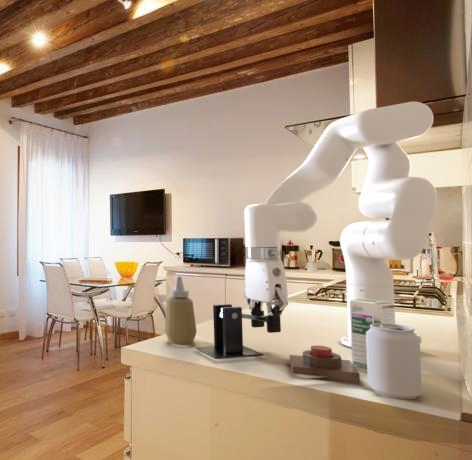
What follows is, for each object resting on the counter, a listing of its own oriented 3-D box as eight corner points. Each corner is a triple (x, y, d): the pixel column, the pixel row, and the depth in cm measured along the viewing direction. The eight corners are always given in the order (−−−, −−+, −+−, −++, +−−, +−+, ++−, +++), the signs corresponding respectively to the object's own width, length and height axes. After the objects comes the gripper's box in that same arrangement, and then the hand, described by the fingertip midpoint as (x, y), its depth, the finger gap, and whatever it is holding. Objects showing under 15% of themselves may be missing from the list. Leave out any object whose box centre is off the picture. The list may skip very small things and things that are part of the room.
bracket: (240, 349, 104) (238, 302, 104) (263, 359, 95) (262, 308, 95) (195, 352, 102) (194, 304, 102) (215, 362, 93) (214, 310, 93)
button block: (350, 370, 86) (349, 351, 86) (360, 385, 78) (359, 363, 78) (289, 364, 91) (288, 346, 91) (292, 377, 83) (292, 357, 83)
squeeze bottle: (159, 345, 109) (158, 277, 109) (172, 339, 115) (171, 274, 115) (189, 350, 104) (187, 278, 104) (201, 343, 110) (199, 276, 110)
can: (433, 402, 69) (430, 330, 69) (382, 400, 71) (379, 329, 71) (404, 386, 76) (402, 321, 77) (359, 384, 78) (357, 321, 78)
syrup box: (350, 368, 88) (348, 299, 88) (367, 364, 90) (365, 297, 90) (380, 376, 82) (378, 303, 83) (398, 372, 85) (395, 301, 85)
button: (330, 354, 85) (330, 346, 85) (333, 359, 82) (333, 350, 82) (310, 353, 87) (309, 344, 87) (312, 357, 84) (311, 348, 84)
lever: (260, 322, 103) (261, 312, 103) (274, 326, 98) (275, 316, 98) (215, 315, 101) (217, 306, 101) (227, 319, 96) (228, 309, 96)
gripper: (302, 255, 93) (306, 336, 92) (254, 253, 110) (257, 321, 109) (272, 256, 92) (275, 338, 91) (228, 254, 108) (231, 323, 108)
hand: (265, 328), depth 100 cm, fingers closed on lever, 5 cm apart
